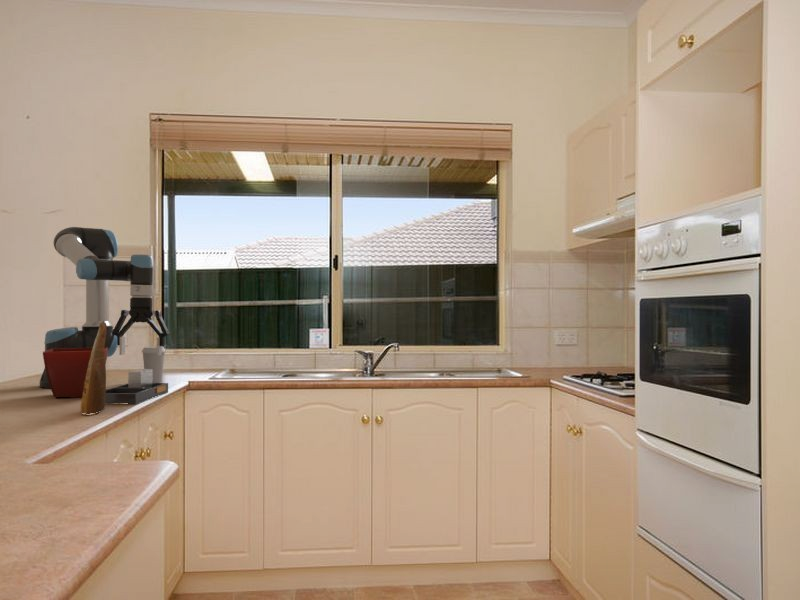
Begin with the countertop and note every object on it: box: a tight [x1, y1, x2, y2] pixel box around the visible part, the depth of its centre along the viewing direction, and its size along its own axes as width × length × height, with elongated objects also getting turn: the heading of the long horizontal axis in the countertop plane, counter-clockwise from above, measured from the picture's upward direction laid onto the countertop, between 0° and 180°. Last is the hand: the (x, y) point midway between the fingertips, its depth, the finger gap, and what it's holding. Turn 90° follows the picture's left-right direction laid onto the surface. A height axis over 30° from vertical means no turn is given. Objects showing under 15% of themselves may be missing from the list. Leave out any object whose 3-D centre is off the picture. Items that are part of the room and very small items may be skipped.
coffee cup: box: [141, 345, 166, 383], centre depth 260 cm, size 10×10×15 cm
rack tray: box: [105, 382, 169, 405], centre depth 218 cm, size 15×28×4 cm, turn 179°
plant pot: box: [42, 347, 108, 398], centre depth 223 cm, size 19×19×17 cm
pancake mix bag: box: [80, 321, 107, 414], centre depth 191 cm, size 7×19×28 cm, turn 16°
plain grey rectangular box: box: [127, 368, 153, 388], centre depth 225 cm, size 4×10×8 cm, turn 179°
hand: (140, 355), depth 225 cm, fingers open, 13 cm apart
